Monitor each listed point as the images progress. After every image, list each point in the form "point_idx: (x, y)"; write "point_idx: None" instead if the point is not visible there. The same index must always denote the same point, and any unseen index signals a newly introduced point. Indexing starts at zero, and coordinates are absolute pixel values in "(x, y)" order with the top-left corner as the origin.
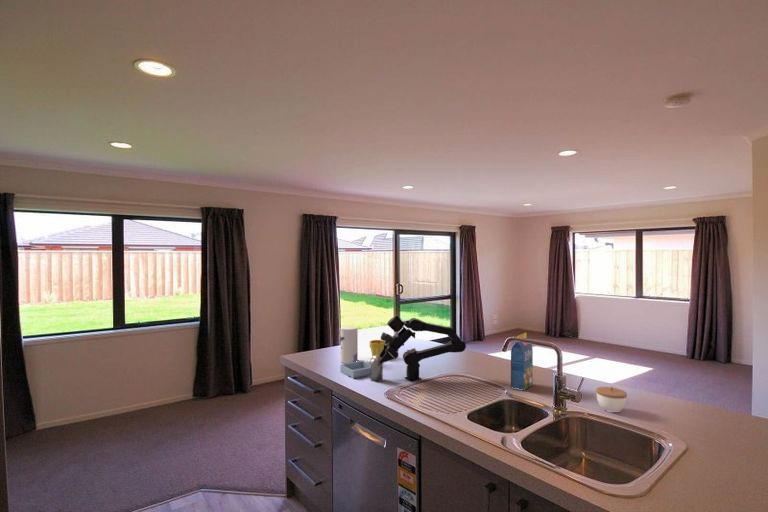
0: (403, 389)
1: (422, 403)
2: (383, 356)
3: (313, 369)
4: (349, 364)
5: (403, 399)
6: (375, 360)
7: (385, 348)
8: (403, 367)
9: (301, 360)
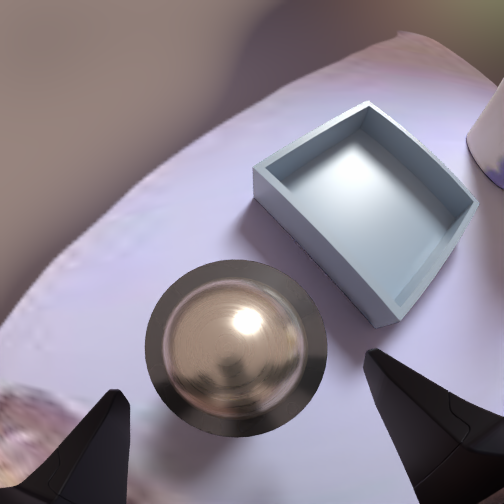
0: None
1: None
2: (64, 456)
3: (352, 60)
4: (405, 140)
5: (8, 449)
6: (156, 336)
7: (468, 472)
8: None
9: (416, 49)
